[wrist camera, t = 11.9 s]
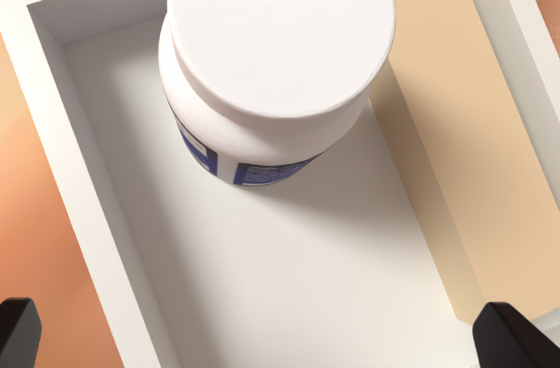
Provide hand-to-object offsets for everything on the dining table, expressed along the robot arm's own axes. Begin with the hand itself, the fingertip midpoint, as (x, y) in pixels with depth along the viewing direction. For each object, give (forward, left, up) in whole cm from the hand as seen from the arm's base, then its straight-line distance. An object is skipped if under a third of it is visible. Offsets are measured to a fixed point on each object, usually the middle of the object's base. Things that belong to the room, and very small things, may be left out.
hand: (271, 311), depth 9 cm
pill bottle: (+2, +6, -9) cm, 11 cm away
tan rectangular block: (+9, +2, -9) cm, 13 cm away
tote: (+4, +2, -10) cm, 11 cm away
